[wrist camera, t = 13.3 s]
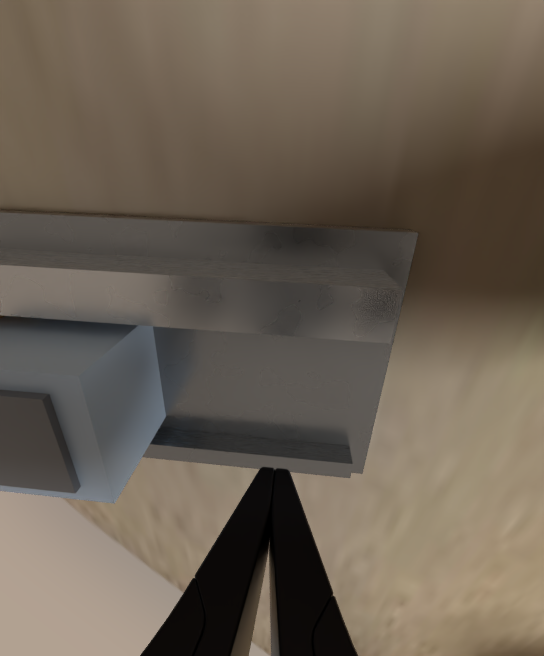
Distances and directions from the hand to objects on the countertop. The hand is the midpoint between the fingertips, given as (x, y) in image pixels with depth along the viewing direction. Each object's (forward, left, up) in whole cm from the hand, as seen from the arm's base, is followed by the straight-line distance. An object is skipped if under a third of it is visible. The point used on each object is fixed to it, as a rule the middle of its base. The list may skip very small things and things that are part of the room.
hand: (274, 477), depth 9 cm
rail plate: (+5, 0, -7) cm, 9 cm away
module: (+9, +1, -6) cm, 11 cm away
